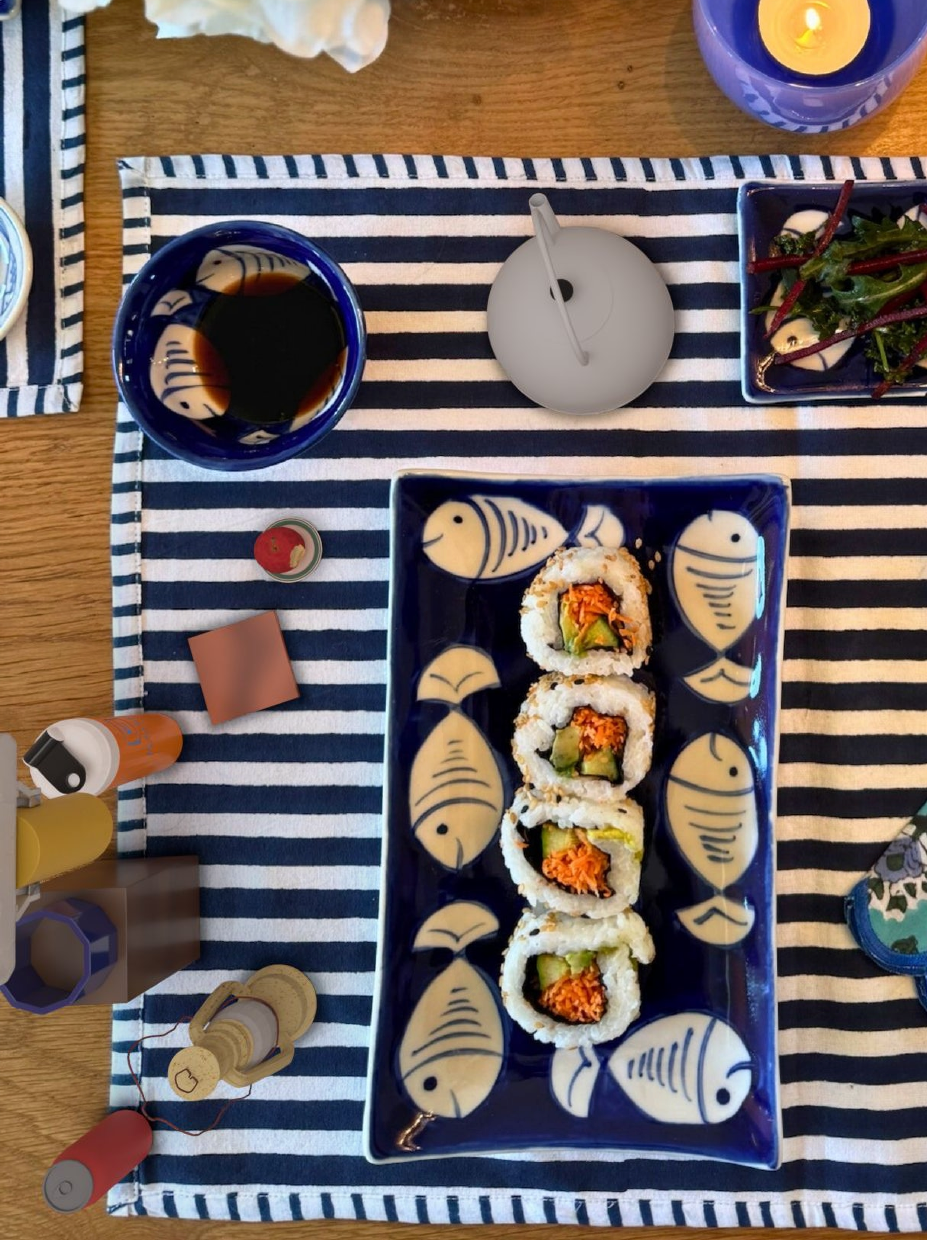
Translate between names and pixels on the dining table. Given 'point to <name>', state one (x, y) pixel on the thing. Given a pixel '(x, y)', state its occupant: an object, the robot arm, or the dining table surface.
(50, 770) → the shaker bottle
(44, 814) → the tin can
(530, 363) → the kettle
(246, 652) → the coaster
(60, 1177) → the beer can
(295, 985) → the lantern
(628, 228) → the dining table surface
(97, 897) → the stand
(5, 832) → the robot arm
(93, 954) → the blue faceted ring
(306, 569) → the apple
